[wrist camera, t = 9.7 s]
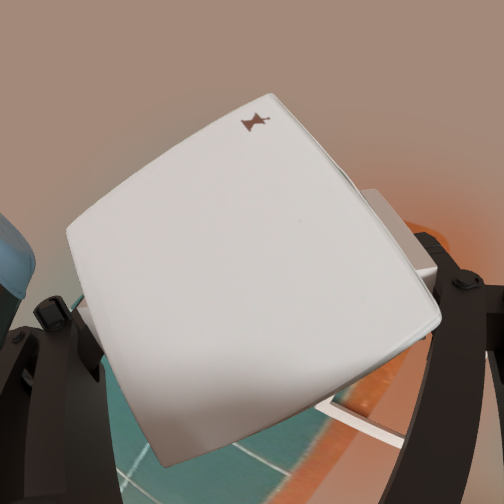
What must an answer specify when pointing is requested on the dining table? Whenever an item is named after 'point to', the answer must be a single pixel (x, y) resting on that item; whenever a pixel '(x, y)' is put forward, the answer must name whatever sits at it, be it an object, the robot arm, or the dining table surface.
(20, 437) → the robot arm
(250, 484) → the dining table surface
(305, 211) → the supplement box
